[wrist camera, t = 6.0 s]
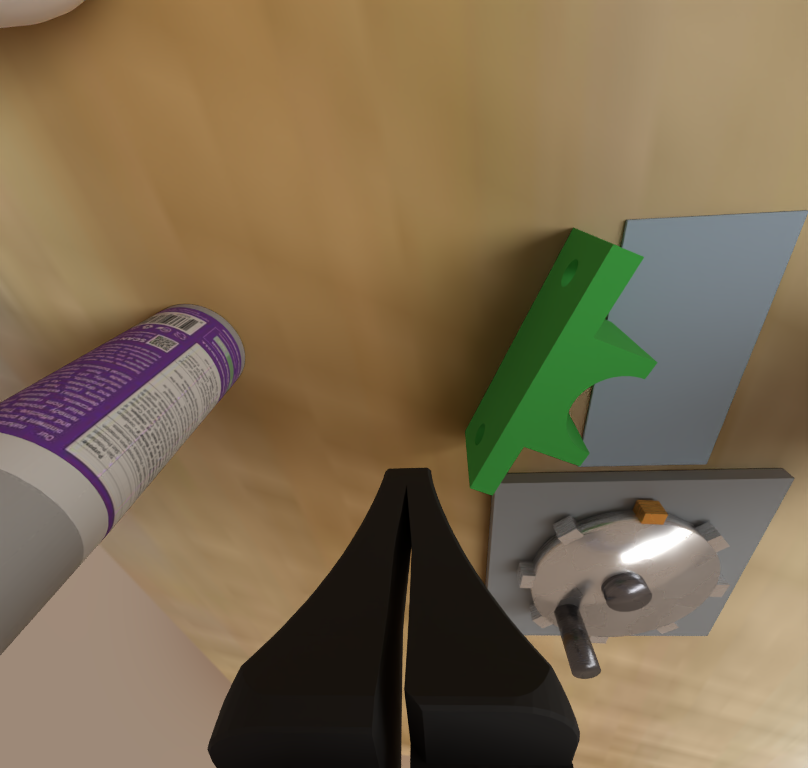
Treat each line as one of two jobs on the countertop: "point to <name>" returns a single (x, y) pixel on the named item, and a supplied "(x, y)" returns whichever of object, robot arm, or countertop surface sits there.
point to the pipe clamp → (556, 362)
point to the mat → (687, 332)
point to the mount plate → (618, 491)
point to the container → (99, 445)
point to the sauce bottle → (33, 11)
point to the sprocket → (621, 577)
